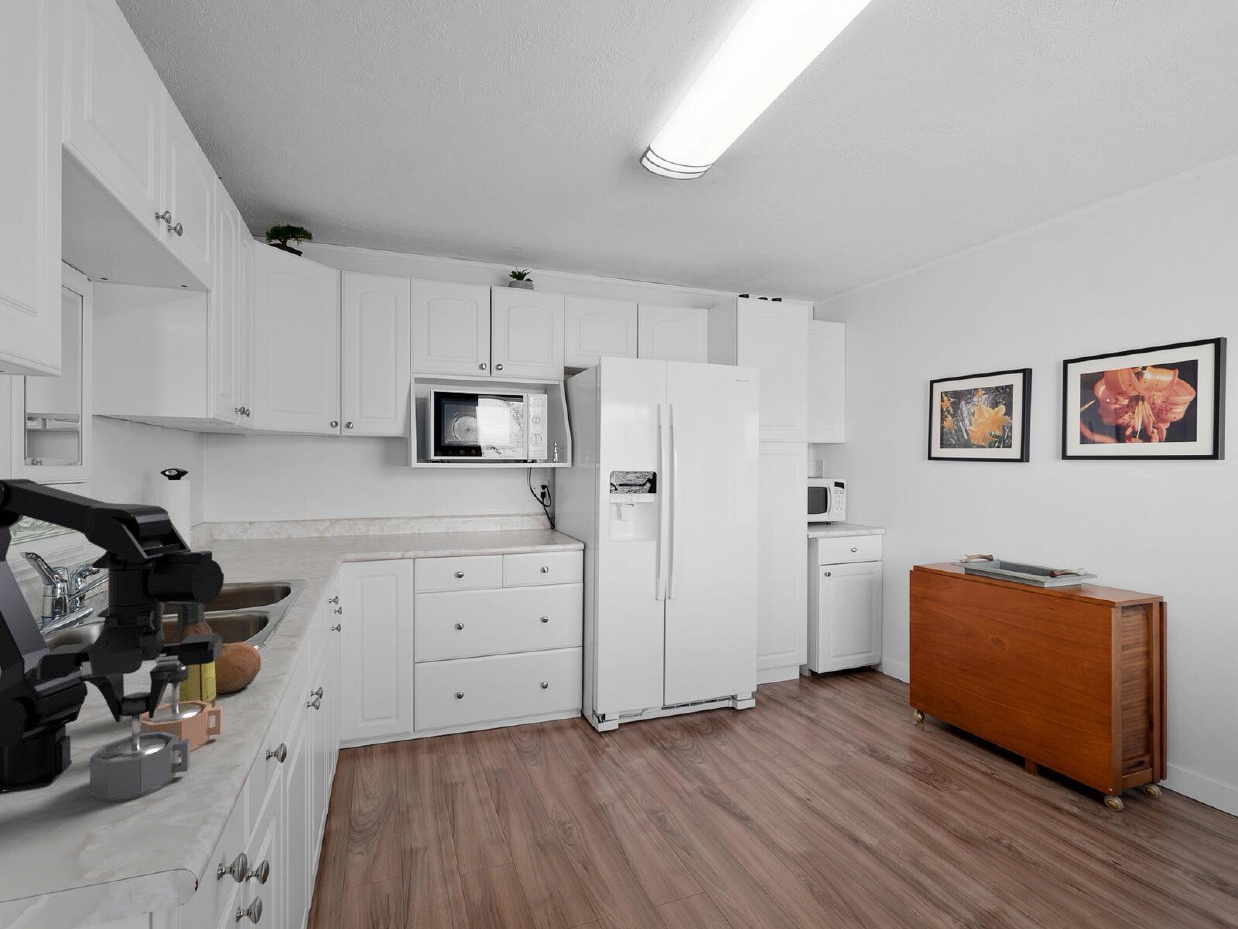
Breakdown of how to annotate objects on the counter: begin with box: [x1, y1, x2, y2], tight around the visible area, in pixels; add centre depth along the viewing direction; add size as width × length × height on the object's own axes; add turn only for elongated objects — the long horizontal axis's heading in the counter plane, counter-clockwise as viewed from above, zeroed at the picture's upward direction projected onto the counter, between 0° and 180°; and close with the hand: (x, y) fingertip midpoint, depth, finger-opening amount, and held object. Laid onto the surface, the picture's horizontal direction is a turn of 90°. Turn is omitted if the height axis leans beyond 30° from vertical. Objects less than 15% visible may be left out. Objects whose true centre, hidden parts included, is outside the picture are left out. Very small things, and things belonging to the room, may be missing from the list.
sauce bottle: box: [170, 603, 217, 708], centre depth 107 cm, size 7×6×20 cm
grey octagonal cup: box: [89, 731, 191, 803], centre depth 83 cm, size 10×9×5 cm
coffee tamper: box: [105, 691, 166, 761], centre depth 83 cm, size 6×6×8 cm
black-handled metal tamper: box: [149, 665, 201, 723], centre depth 94 cm, size 6×6×8 cm
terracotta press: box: [140, 700, 224, 757], centre depth 94 cm, size 10×9×5 cm
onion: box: [215, 641, 262, 694], centre depth 116 cm, size 10×9×10 cm
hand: (135, 719), depth 83 cm, fingers closed on coffee tamper, 3 cm apart
